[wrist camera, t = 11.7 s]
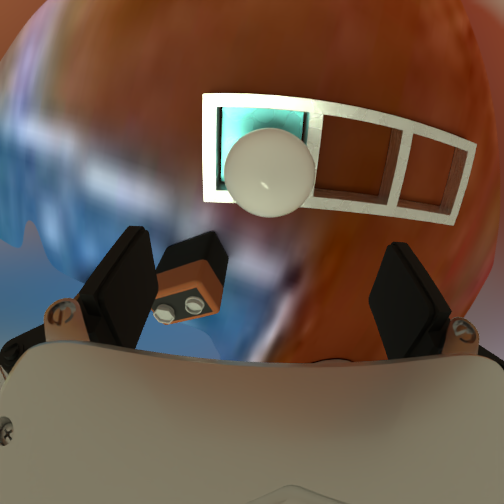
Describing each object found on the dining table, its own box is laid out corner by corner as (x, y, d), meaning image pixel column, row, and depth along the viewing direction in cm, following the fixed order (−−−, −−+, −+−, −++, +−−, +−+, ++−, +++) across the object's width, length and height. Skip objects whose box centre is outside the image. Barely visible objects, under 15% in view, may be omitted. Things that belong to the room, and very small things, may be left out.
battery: (165, 246, 32) (136, 304, 24) (214, 228, 31) (196, 288, 22) (182, 273, 35) (161, 333, 26) (230, 258, 33) (220, 321, 25)
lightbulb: (254, 189, 28) (250, 248, 18) (222, 136, 25) (197, 168, 15) (311, 162, 26) (338, 209, 17) (282, 105, 23) (295, 117, 14)
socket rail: (443, 215, 28) (453, 225, 26) (208, 192, 28) (203, 201, 26) (464, 138, 22) (476, 144, 20) (208, 93, 22) (202, 93, 20)
